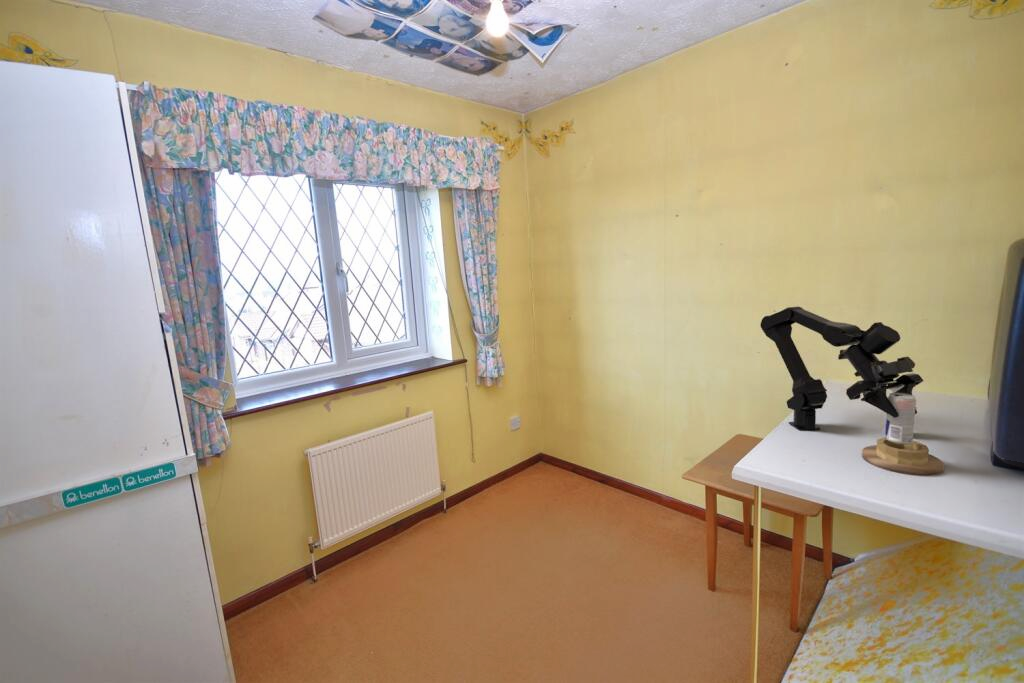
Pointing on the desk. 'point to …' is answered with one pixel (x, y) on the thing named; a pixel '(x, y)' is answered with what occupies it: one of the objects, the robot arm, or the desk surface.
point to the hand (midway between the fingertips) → (906, 415)
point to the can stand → (903, 458)
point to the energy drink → (901, 419)
